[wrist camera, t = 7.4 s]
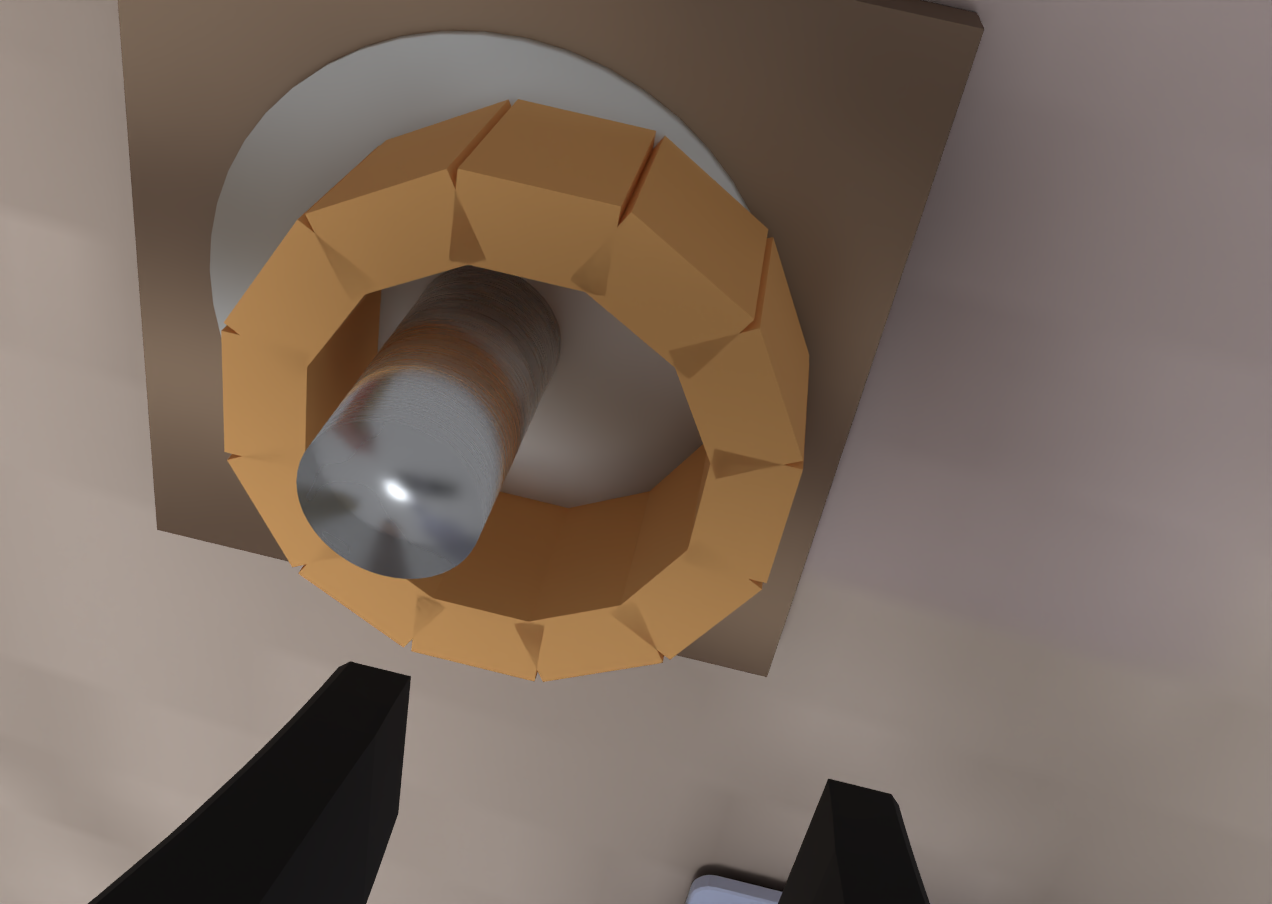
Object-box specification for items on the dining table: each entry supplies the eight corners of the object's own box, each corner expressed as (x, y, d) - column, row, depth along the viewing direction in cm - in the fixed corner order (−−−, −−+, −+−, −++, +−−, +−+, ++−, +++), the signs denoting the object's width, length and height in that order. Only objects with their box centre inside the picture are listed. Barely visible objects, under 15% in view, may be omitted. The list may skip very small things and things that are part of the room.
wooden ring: (735, 604, 20) (720, 727, 18) (303, 498, 21) (228, 605, 18) (865, 178, 16) (869, 264, 13) (313, 51, 16) (215, 112, 14)
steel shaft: (554, 406, 19) (472, 596, 15) (415, 373, 19) (295, 554, 15) (574, 276, 18) (491, 446, 14) (425, 242, 18) (296, 401, 14)
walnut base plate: (769, 641, 22) (765, 688, 21) (182, 500, 23) (149, 538, 22) (977, 13, 16) (985, 34, 15) (143, -172, 16) (93, -163, 15)
